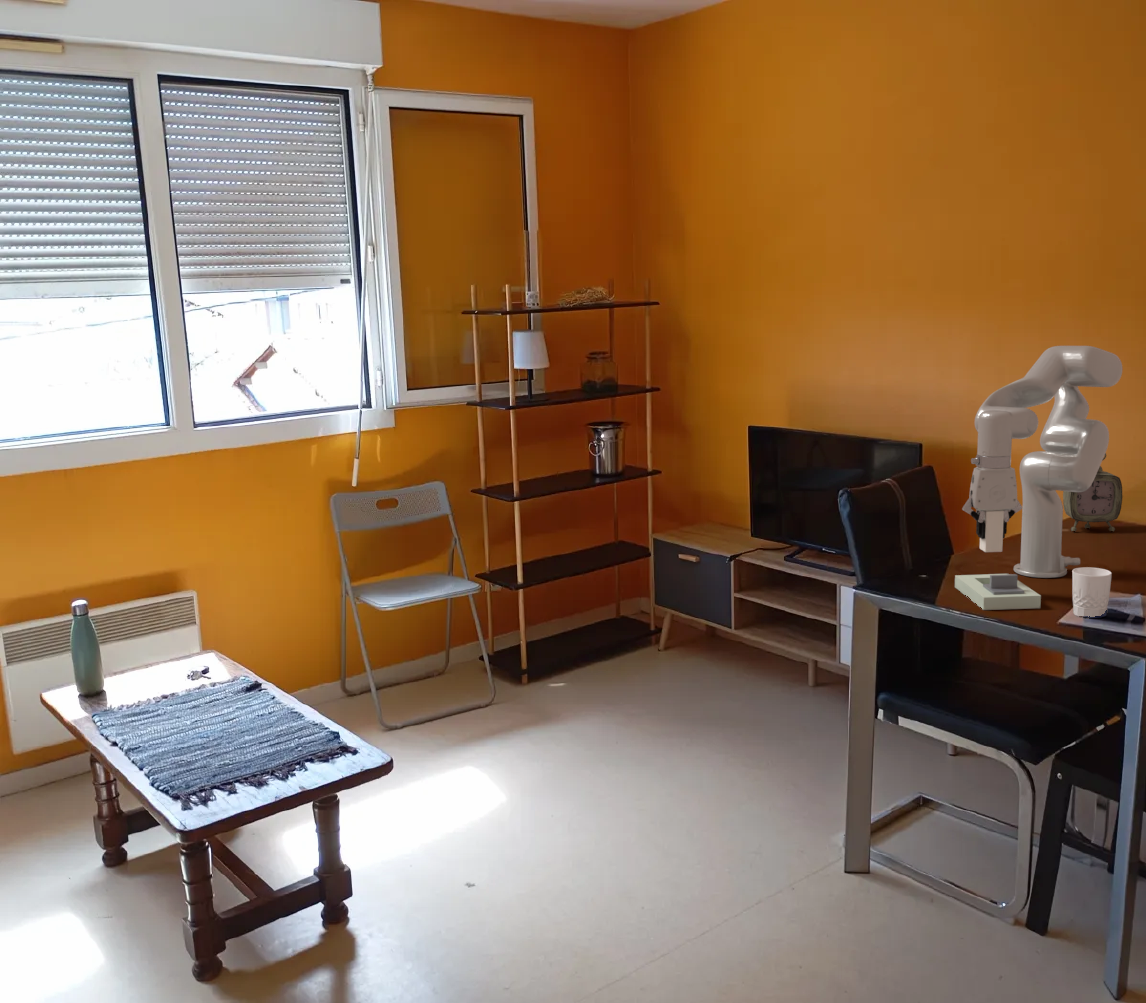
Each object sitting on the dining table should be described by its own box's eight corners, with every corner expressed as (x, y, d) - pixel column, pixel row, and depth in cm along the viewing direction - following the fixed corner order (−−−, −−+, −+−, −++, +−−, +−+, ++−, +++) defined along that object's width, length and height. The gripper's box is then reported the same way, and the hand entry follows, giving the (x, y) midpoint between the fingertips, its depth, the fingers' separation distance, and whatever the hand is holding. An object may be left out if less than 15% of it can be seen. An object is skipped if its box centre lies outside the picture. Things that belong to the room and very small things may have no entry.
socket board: (1007, 585, 260) (1007, 573, 259) (1040, 608, 240) (1040, 595, 240) (954, 587, 260) (955, 575, 260) (983, 610, 241) (983, 597, 240)
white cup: (1063, 610, 238) (1065, 568, 236) (1096, 608, 238) (1098, 566, 236) (1082, 621, 230) (1084, 577, 228) (1116, 618, 230) (1119, 574, 229)
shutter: (1012, 585, 249) (1013, 570, 248) (1024, 593, 242) (1024, 578, 241) (982, 586, 249) (983, 571, 248) (993, 594, 242) (994, 579, 241)
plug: (996, 548, 254) (997, 499, 252) (1002, 551, 250) (1004, 502, 248) (979, 548, 254) (981, 500, 252) (985, 552, 250) (987, 503, 248)
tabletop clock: (1068, 533, 311) (1072, 450, 306) (1059, 527, 320) (1063, 446, 315) (1120, 533, 308) (1125, 449, 304) (1110, 526, 317) (1114, 445, 312)
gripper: (963, 465, 245) (961, 541, 248) (1035, 463, 244) (1032, 539, 247) (953, 461, 252) (951, 535, 255) (1023, 459, 252) (1020, 533, 255)
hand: (991, 536), depth 251 cm, fingers closed on plug, 4 cm apart
